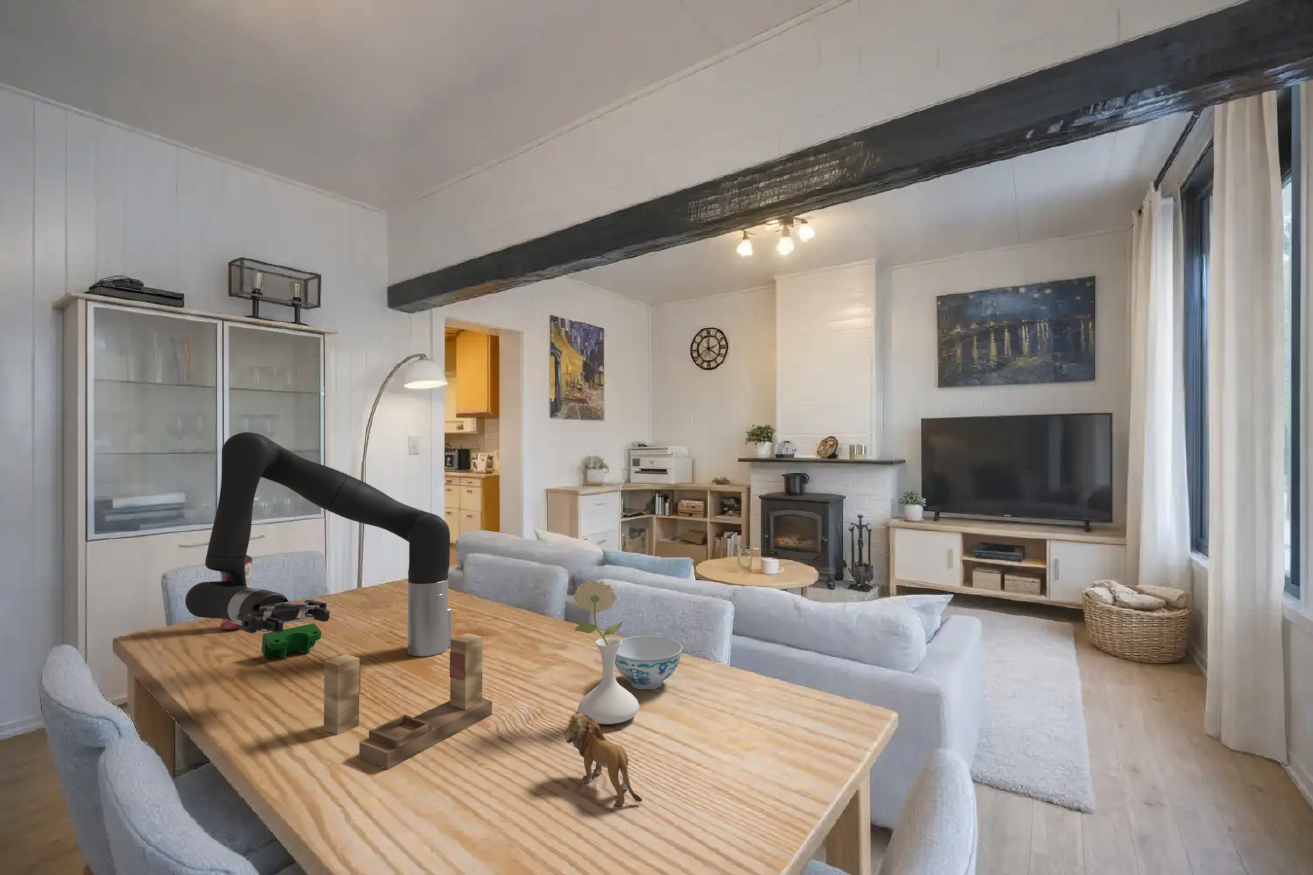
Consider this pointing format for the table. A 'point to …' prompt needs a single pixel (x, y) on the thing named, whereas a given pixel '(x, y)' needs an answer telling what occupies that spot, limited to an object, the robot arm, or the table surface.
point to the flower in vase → (604, 660)
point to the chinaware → (647, 660)
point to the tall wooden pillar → (341, 693)
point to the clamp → (290, 640)
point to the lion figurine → (599, 753)
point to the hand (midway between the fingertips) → (304, 621)
